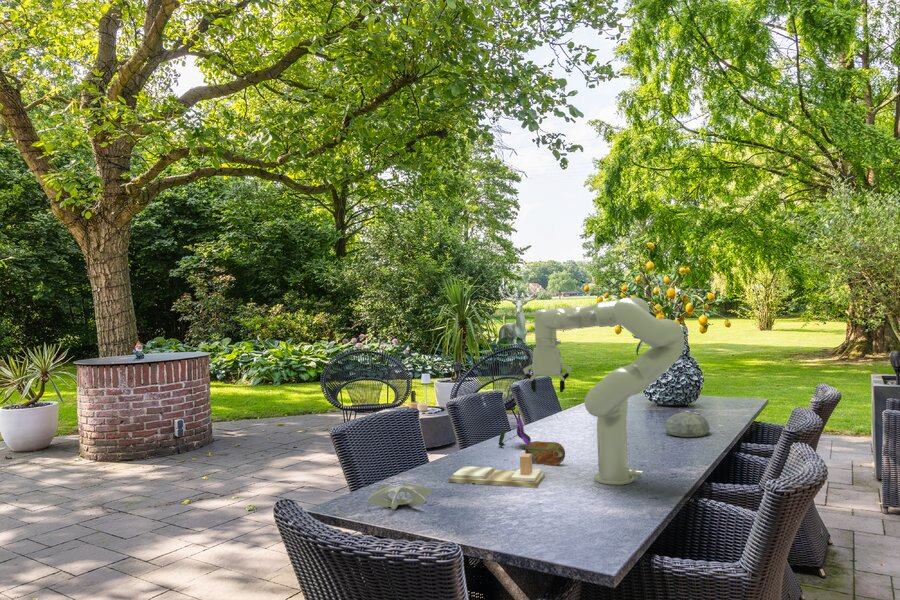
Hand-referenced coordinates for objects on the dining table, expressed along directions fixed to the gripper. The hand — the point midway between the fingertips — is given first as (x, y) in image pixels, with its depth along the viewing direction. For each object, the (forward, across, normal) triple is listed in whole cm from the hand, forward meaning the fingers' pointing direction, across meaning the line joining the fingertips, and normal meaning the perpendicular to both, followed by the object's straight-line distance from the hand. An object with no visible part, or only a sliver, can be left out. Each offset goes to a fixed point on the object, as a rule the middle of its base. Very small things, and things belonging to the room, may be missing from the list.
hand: (548, 391), depth 221 cm
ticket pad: (+28, +16, +14) cm, 35 cm away
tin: (+28, +4, -11) cm, 31 cm away
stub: (+26, +6, +14) cm, 31 cm away
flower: (+28, +22, -37) cm, 52 cm away
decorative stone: (+29, -49, -75) cm, 94 cm away
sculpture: (+28, +38, +48) cm, 67 cm away
